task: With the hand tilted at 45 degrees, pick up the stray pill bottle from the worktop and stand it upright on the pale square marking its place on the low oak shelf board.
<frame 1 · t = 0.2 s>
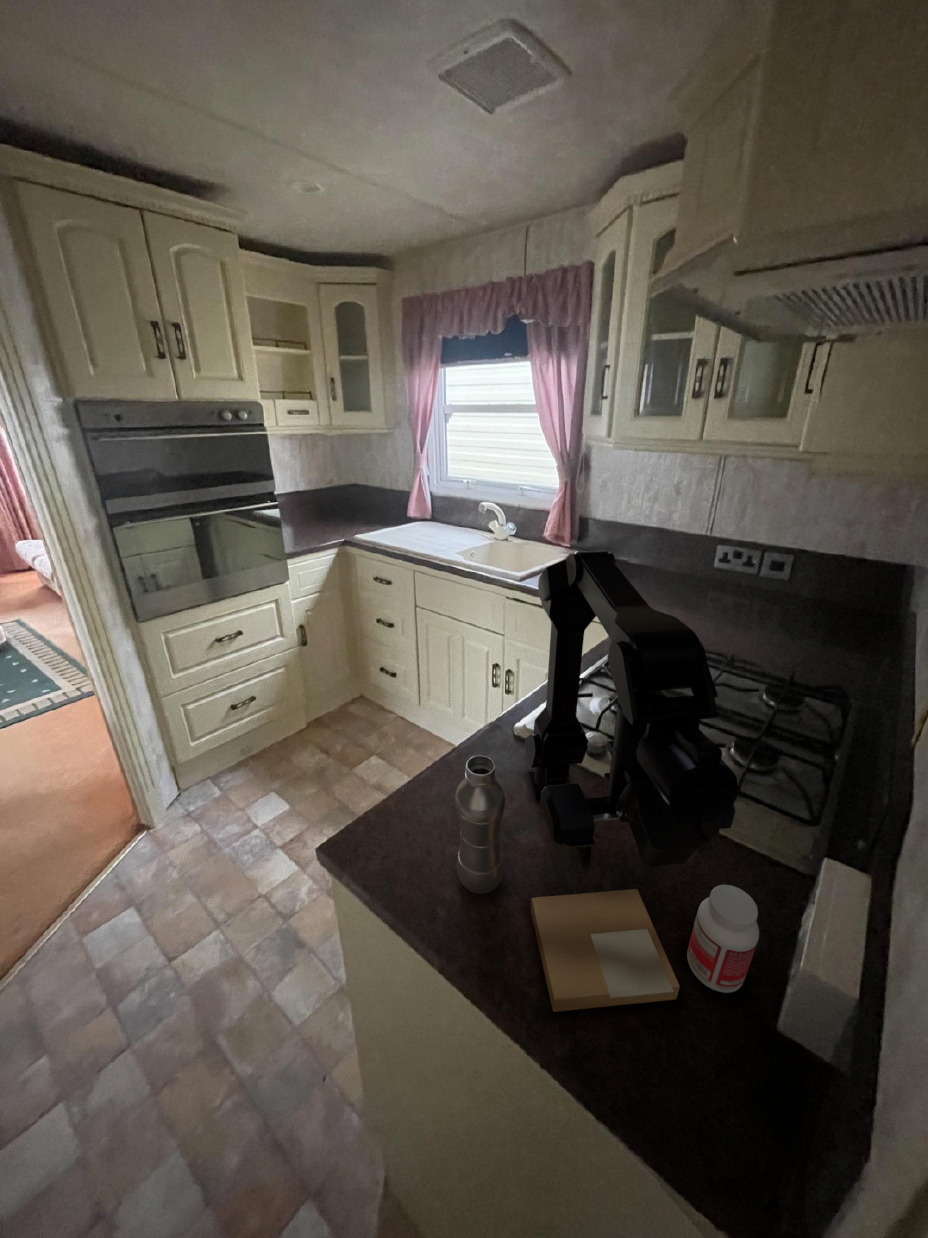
hand: (626, 866, 56), 14 cm above the worktop, tool pointing down, fingers open, 9 cm apart
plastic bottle: (479, 880, 71), on the worktop
shelf: (597, 951, 62), on the worktop
pill bottle: (713, 968, 60), on the worktop
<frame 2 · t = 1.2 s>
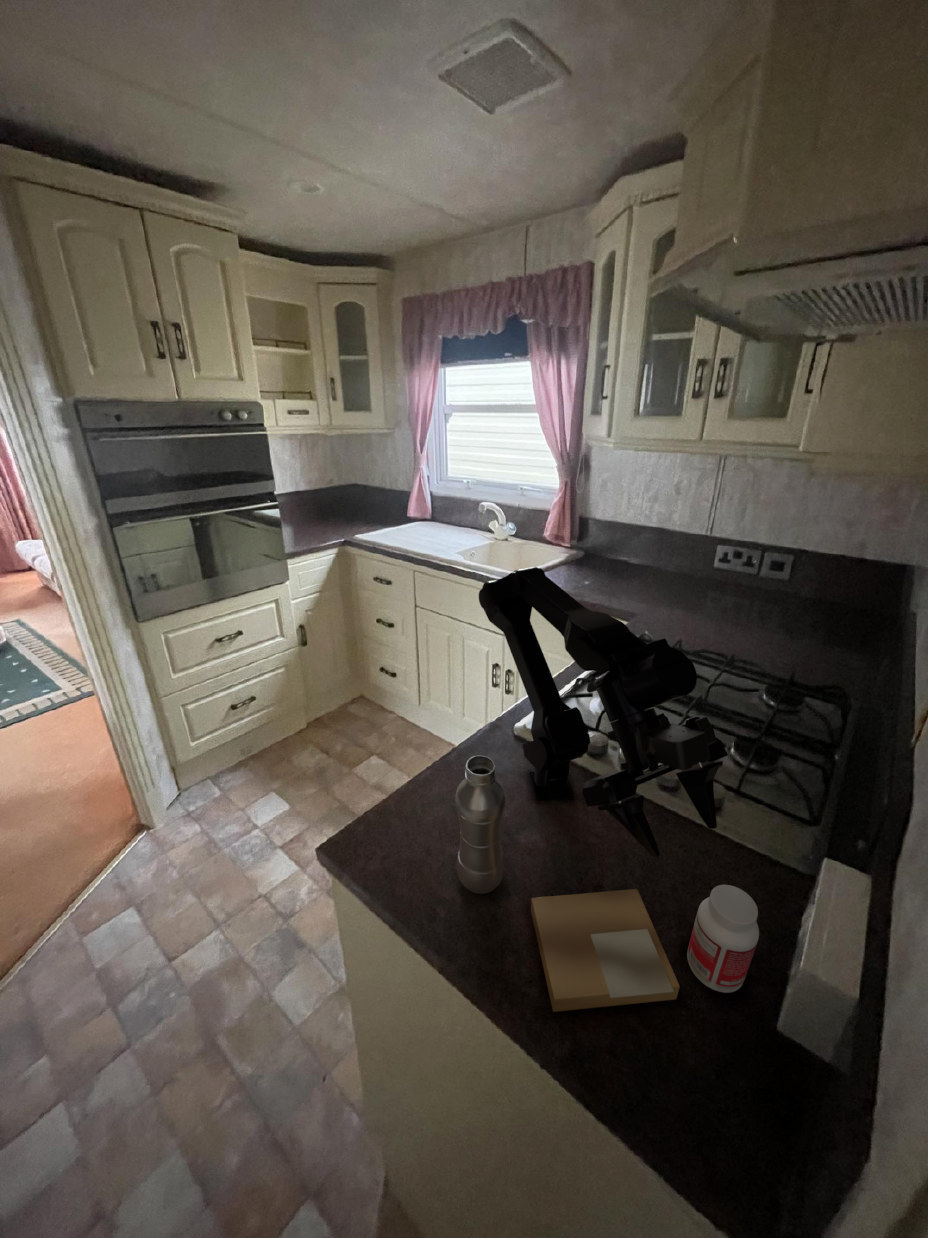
hand: (685, 842, 61), 13 cm above the worktop, tool tilted 45°, fingers open, 9 cm apart
nothing on the worktop moved.
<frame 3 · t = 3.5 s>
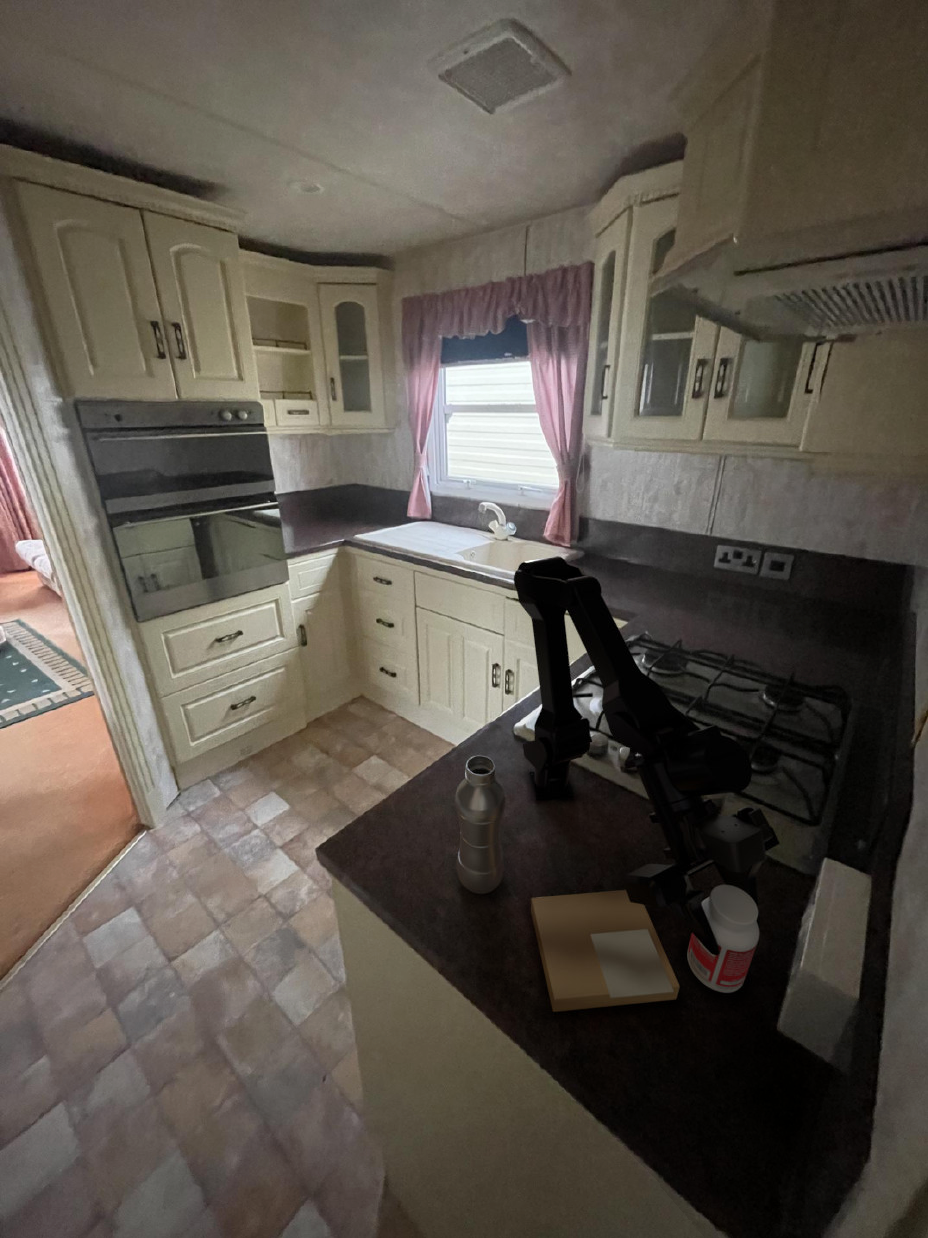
hand: (736, 941, 56), 7 cm above the worktop, tool tilted 45°, fingers closed on pill bottle, 6 cm apart
pill bottle: (713, 968, 60), on the worktop, touching gripper
everything else where it was.
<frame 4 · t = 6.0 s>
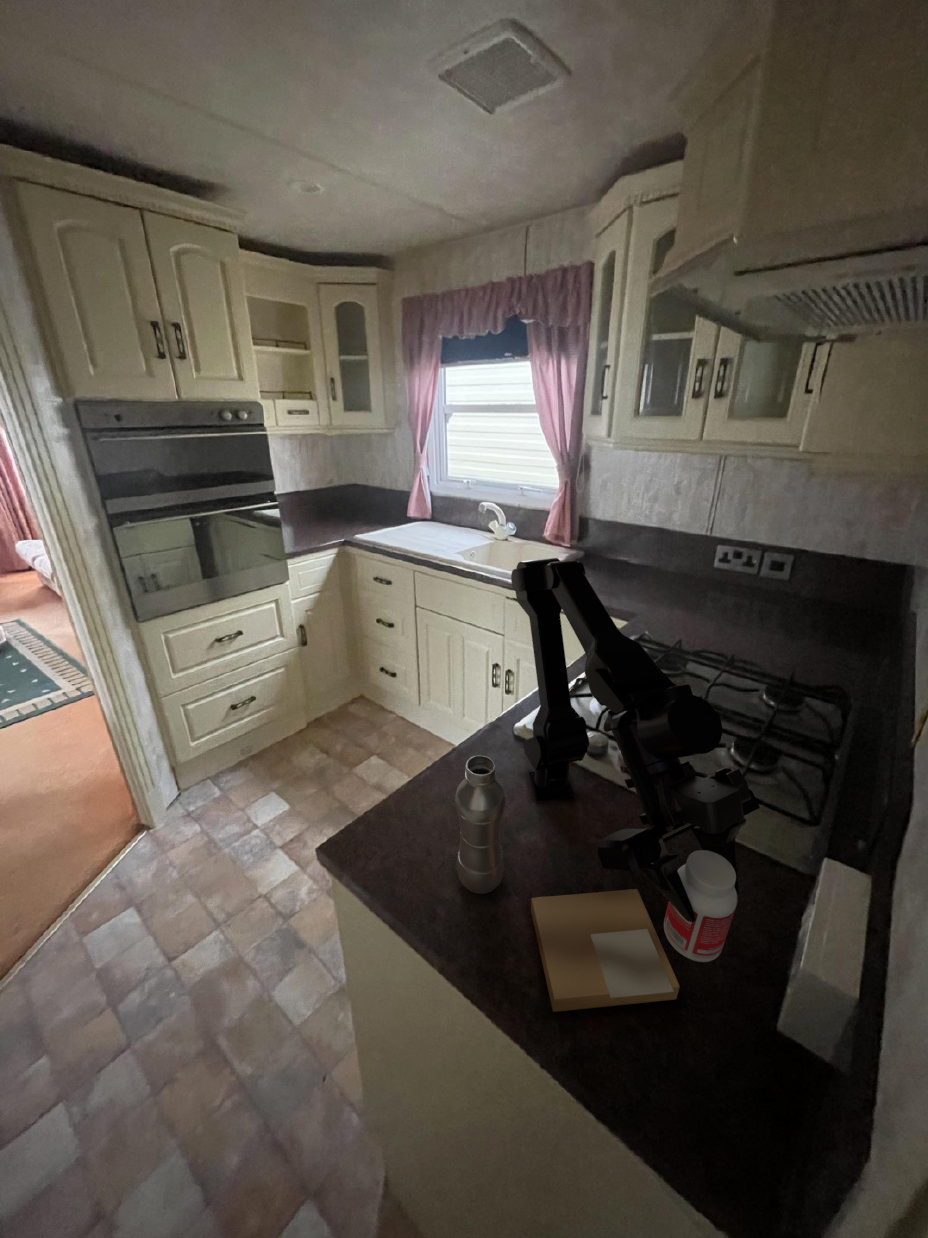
hand: (713, 908, 54), 12 cm above the worktop, tool tilted 45°, fingers closed on pill bottle, 6 cm apart
pill bottle: (691, 937, 58), point 5 cm above the worktop, touching gripper
everything else where it was.
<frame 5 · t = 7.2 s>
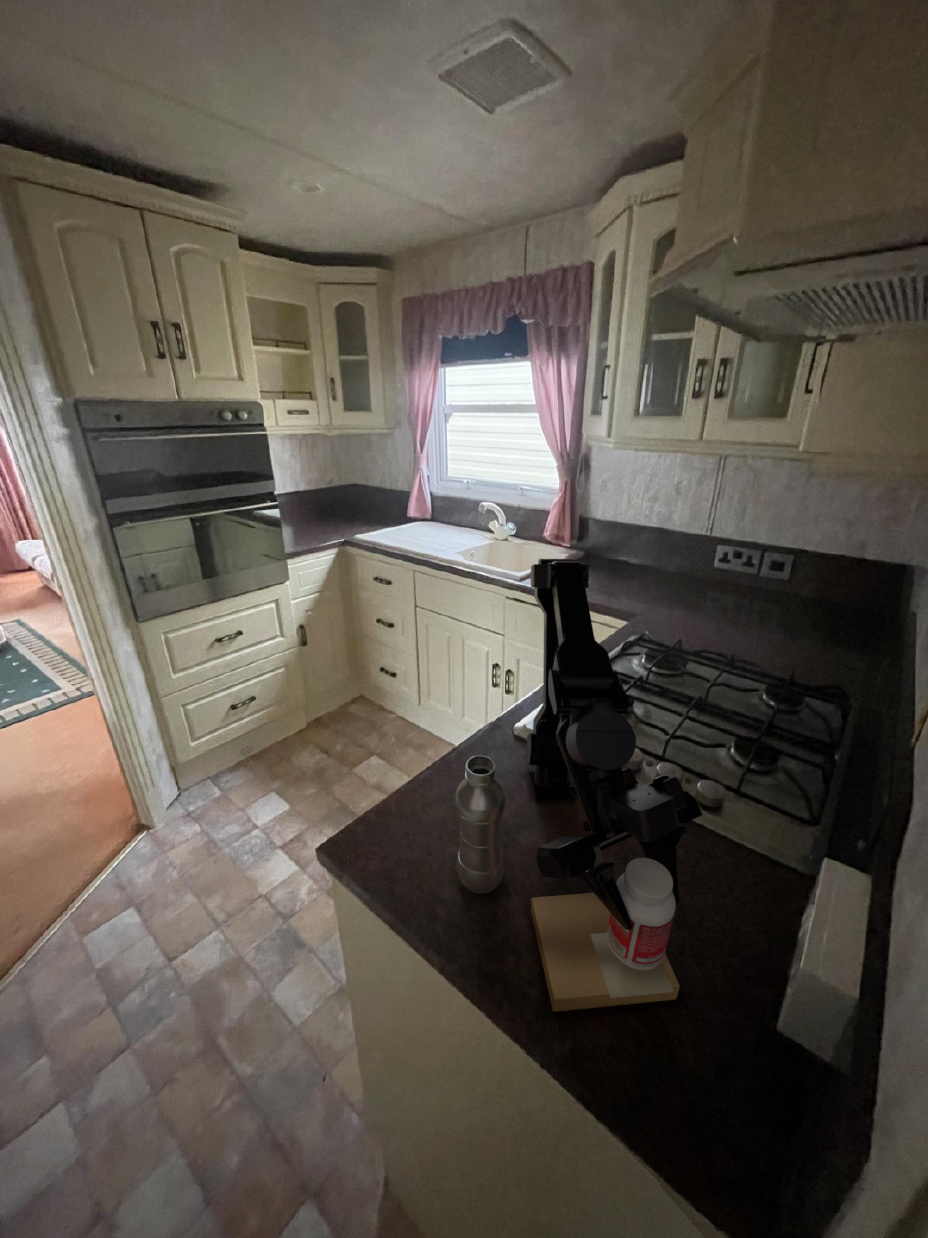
hand: (652, 916, 54), 12 cm above the worktop, tool tilted 45°, fingers closed on pill bottle, 6 cm apart
pill bottle: (634, 945, 58), point 5 cm above the worktop, touching gripper
everything else where it was.
when the fingers open (9 cm above the worktop, at t = 8.5 s): pill bottle stays where it is, resting on shelf.
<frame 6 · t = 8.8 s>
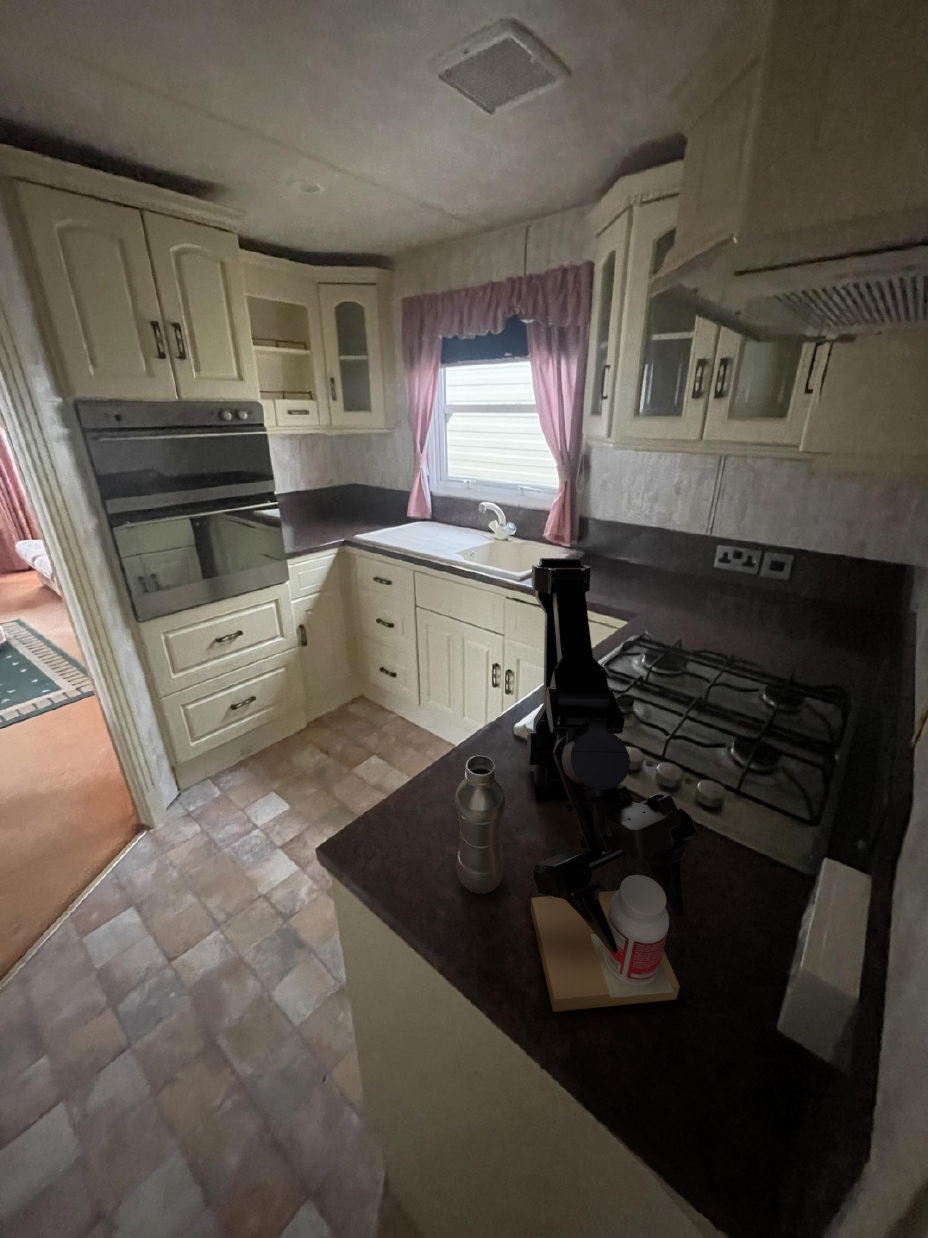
hand: (647, 933, 54), 9 cm above the worktop, tool tilted 45°, fingers open, 9 cm apart
pill bottle: (629, 960, 59), point 2 cm above the worktop, touching shelf
everything else where it was.
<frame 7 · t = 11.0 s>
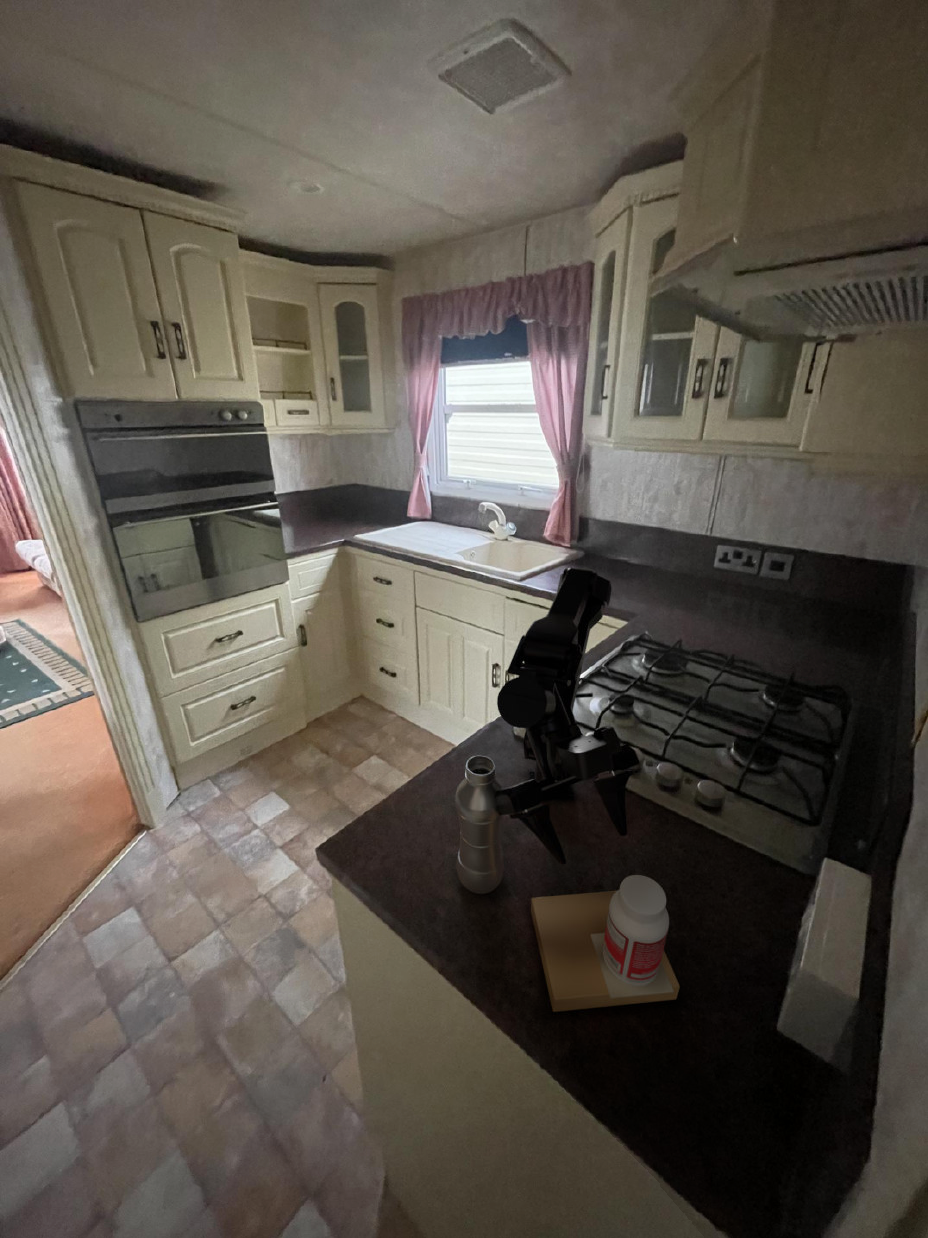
hand: (594, 849, 62), 11 cm above the worktop, tool tilted 45°, fingers open, 9 cm apart
nothing on the worktop moved.
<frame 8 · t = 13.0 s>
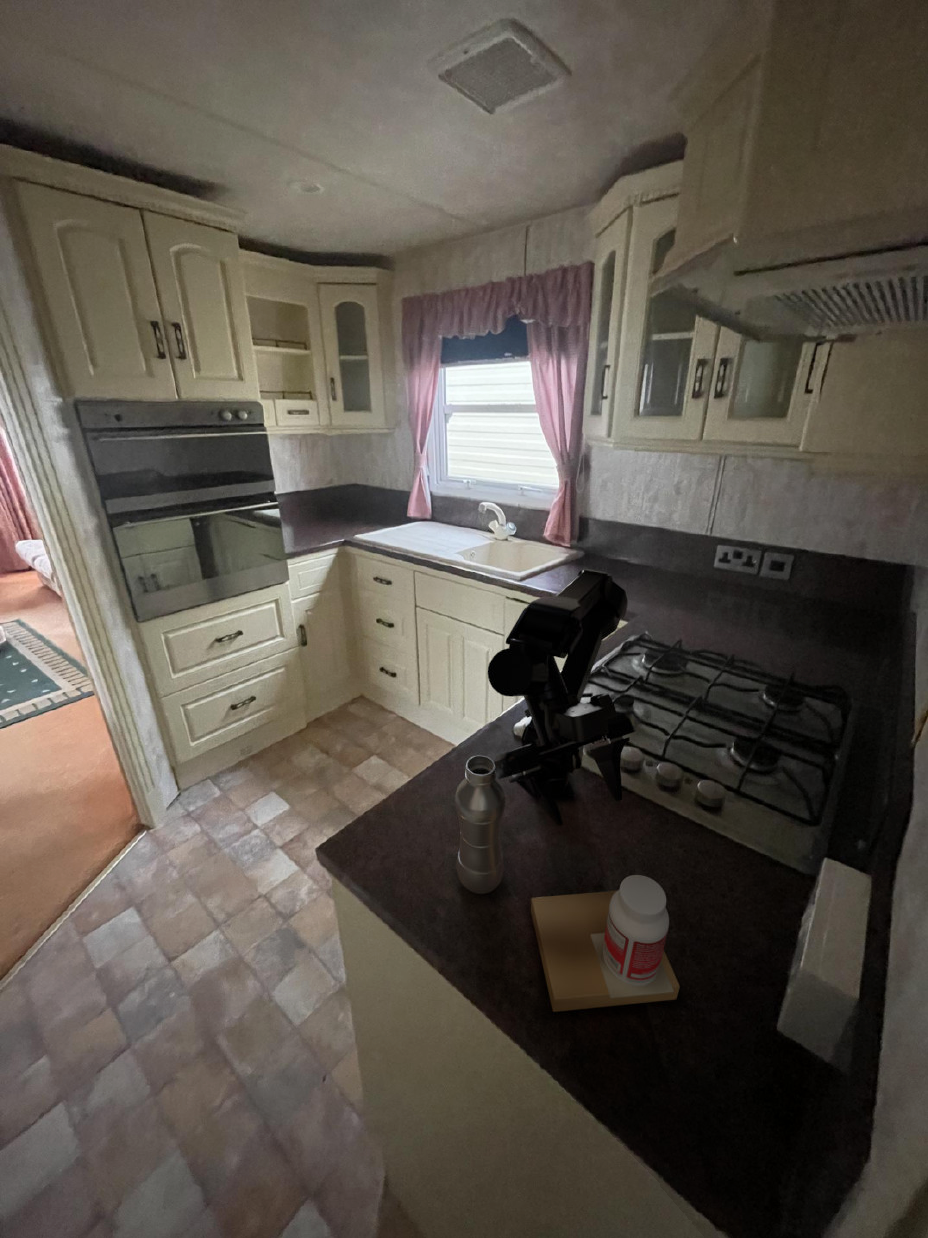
hand: (590, 812, 64), 14 cm above the worktop, tool tilted 45°, fingers open, 9 cm apart
nothing on the worktop moved.
at the end: pill bottle 0.2 cm from the target spot, point 2.4 cm above the worktop; pill bottle tilted 0°; the gripper is holding nothing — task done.
